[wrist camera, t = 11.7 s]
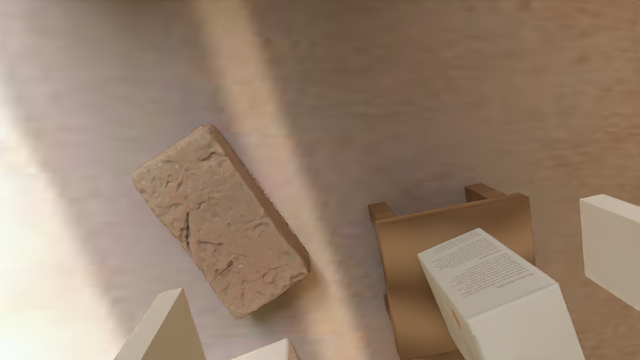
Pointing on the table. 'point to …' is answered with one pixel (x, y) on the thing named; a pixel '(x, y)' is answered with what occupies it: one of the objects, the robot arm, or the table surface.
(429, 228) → the brown flat-topped fixture
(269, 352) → the block with arch cutout
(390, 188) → the table surface
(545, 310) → the small box
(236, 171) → the brick
